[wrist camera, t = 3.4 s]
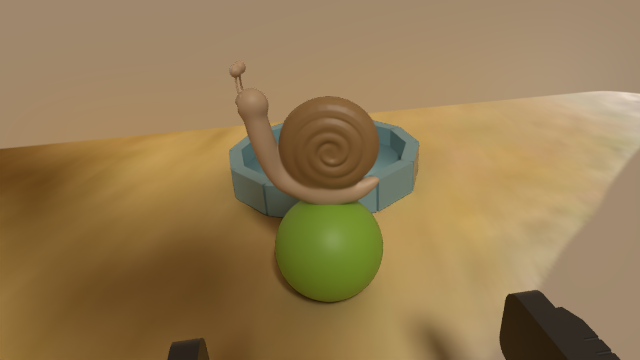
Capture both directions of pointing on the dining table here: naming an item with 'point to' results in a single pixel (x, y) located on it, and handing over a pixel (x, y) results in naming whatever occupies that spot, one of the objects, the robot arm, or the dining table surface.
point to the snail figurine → (319, 190)
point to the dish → (390, 167)
